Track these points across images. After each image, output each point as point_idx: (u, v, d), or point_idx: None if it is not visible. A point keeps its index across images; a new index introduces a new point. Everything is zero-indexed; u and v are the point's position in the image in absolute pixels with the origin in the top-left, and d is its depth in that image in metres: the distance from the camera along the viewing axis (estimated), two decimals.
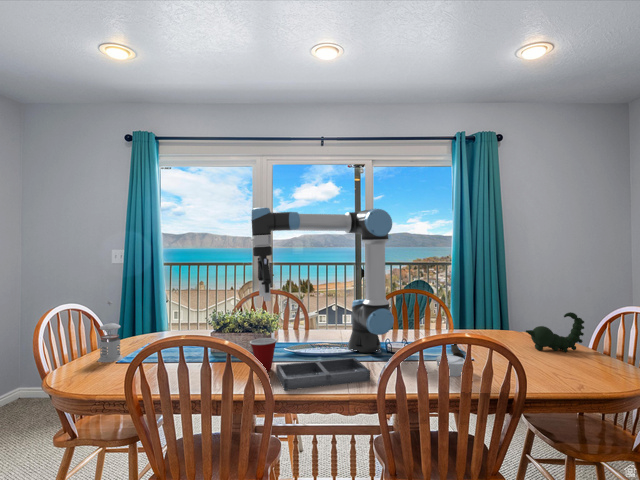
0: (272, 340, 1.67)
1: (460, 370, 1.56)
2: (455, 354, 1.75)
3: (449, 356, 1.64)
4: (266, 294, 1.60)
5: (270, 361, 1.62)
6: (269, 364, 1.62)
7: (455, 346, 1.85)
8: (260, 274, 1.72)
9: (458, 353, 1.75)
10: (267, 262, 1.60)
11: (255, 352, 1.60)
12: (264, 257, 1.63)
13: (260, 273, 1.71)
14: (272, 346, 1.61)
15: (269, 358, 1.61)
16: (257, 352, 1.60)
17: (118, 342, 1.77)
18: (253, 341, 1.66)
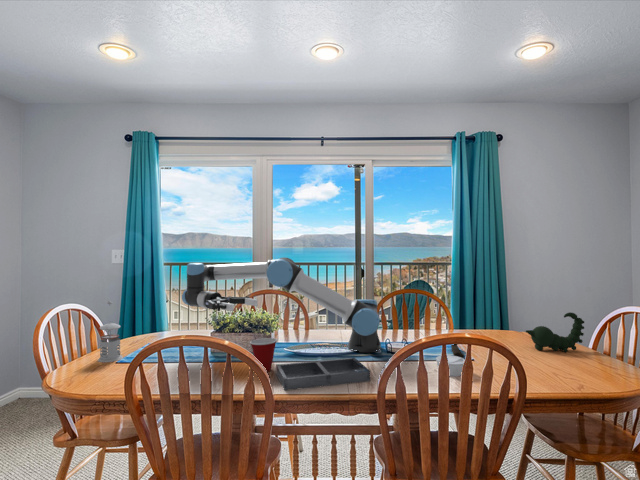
0: (272, 340, 1.67)
1: (460, 370, 1.56)
2: (455, 354, 1.75)
3: (449, 356, 1.64)
4: (227, 307, 1.64)
5: (270, 361, 1.62)
6: (269, 364, 1.62)
7: (455, 346, 1.85)
8: (238, 302, 1.78)
9: (458, 353, 1.75)
10: (207, 301, 1.71)
11: (255, 352, 1.60)
12: None
13: (236, 302, 1.78)
14: (272, 346, 1.61)
15: (269, 358, 1.61)
16: (257, 352, 1.60)
17: (118, 342, 1.77)
18: (253, 341, 1.66)
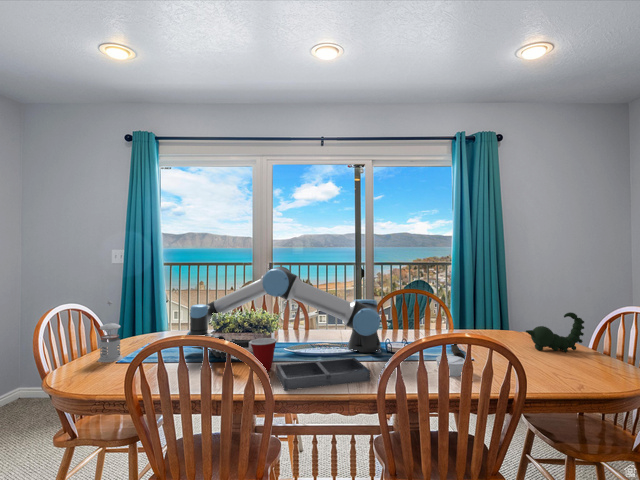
0: (272, 340, 1.67)
1: (460, 370, 1.56)
2: (456, 354, 1.75)
3: (449, 356, 1.64)
4: None
5: (270, 361, 1.62)
6: (269, 364, 1.62)
7: (455, 346, 1.85)
8: (241, 346, 1.77)
9: (459, 353, 1.75)
10: None
11: (255, 352, 1.60)
12: None
13: None
14: (272, 346, 1.61)
15: (269, 358, 1.61)
16: (257, 352, 1.60)
17: (118, 342, 1.77)
18: (253, 341, 1.66)
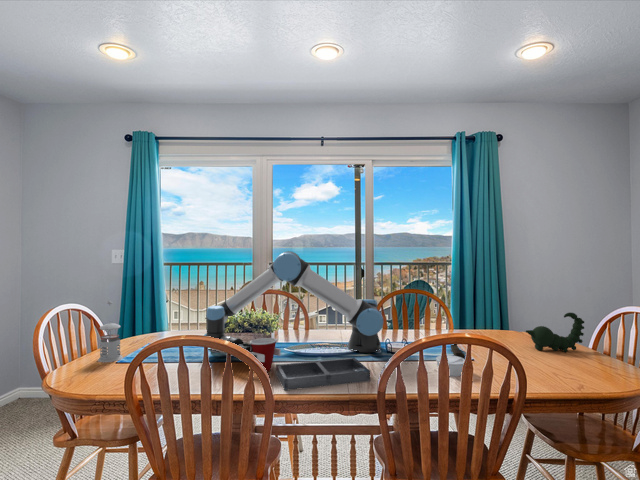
0: (272, 340, 1.67)
1: (460, 370, 1.56)
2: (456, 354, 1.75)
3: (449, 356, 1.64)
4: (258, 358, 1.58)
5: (270, 361, 1.62)
6: (269, 364, 1.62)
7: (455, 346, 1.85)
8: None
9: (459, 353, 1.75)
10: None
11: (255, 352, 1.60)
12: None
13: None
14: (272, 346, 1.61)
15: (269, 358, 1.61)
16: (257, 352, 1.60)
17: (118, 342, 1.77)
18: (253, 341, 1.66)
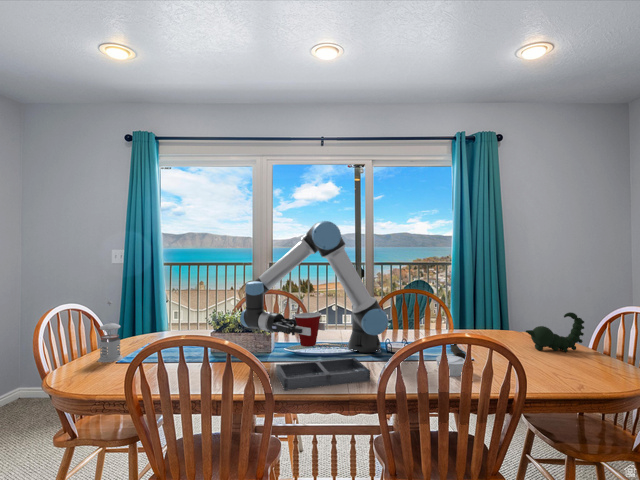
0: (316, 314, 1.61)
1: (460, 370, 1.56)
2: (457, 354, 1.75)
3: (449, 356, 1.65)
4: (303, 331, 1.52)
5: (315, 335, 1.56)
6: (314, 338, 1.56)
7: (455, 346, 1.85)
8: None
9: (460, 353, 1.75)
10: (274, 325, 1.58)
11: None
12: None
13: None
14: (317, 320, 1.55)
15: (314, 332, 1.55)
16: (303, 325, 1.54)
17: (118, 342, 1.77)
18: (296, 315, 1.60)
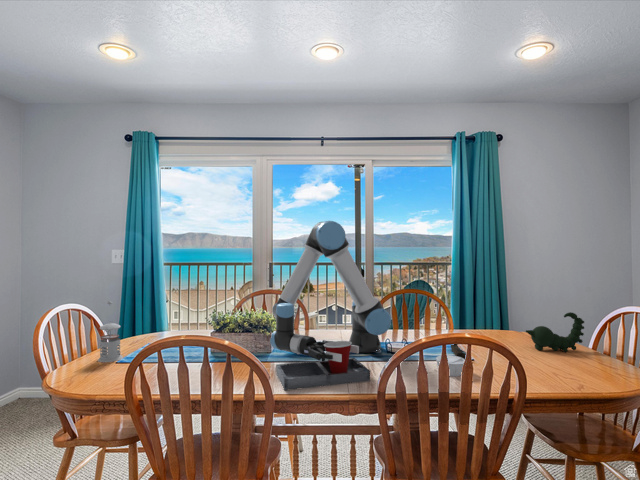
0: (345, 343, 1.60)
1: (460, 370, 1.56)
2: (458, 354, 1.75)
3: (449, 356, 1.65)
4: (334, 358, 1.51)
5: (346, 365, 1.54)
6: (345, 368, 1.54)
7: (456, 346, 1.85)
8: None
9: (461, 353, 1.75)
10: (306, 349, 1.58)
11: None
12: None
13: None
14: (348, 349, 1.53)
15: (345, 361, 1.53)
16: None
17: (118, 342, 1.77)
18: (326, 344, 1.58)
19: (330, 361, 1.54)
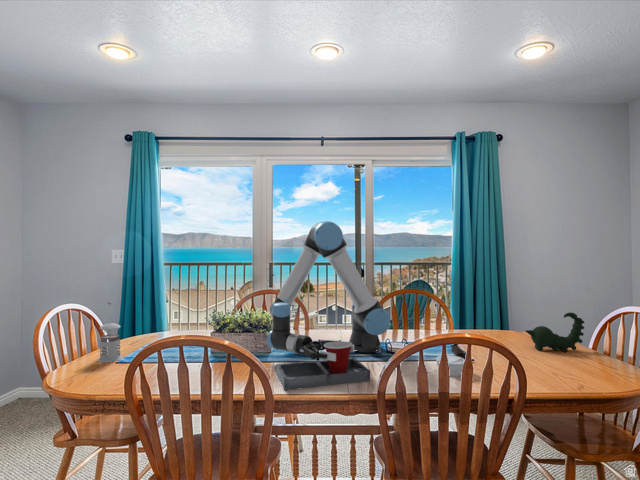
0: (346, 344, 1.59)
1: (460, 370, 1.56)
2: (458, 354, 1.75)
3: (449, 356, 1.64)
4: (328, 357, 1.51)
5: (346, 366, 1.53)
6: (345, 369, 1.53)
7: (456, 346, 1.85)
8: None
9: (461, 353, 1.75)
10: (302, 348, 1.58)
11: None
12: None
13: None
14: (348, 350, 1.53)
15: (345, 362, 1.53)
16: None
17: (118, 342, 1.77)
18: (326, 344, 1.58)
19: (330, 362, 1.53)
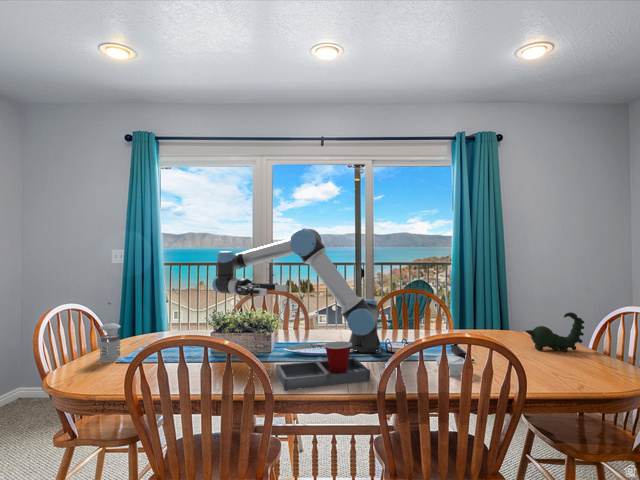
0: (346, 344, 1.59)
1: (460, 370, 1.56)
2: (459, 354, 1.75)
3: (449, 356, 1.65)
4: (260, 292, 1.70)
5: (346, 366, 1.53)
6: (345, 369, 1.53)
7: (456, 346, 1.85)
8: (268, 288, 1.84)
9: (462, 353, 1.75)
10: (239, 287, 1.77)
11: (330, 356, 1.53)
12: None
13: (266, 289, 1.84)
14: (348, 350, 1.53)
15: (345, 362, 1.53)
16: (333, 356, 1.52)
17: (118, 342, 1.77)
18: (326, 344, 1.58)
19: (330, 362, 1.53)
